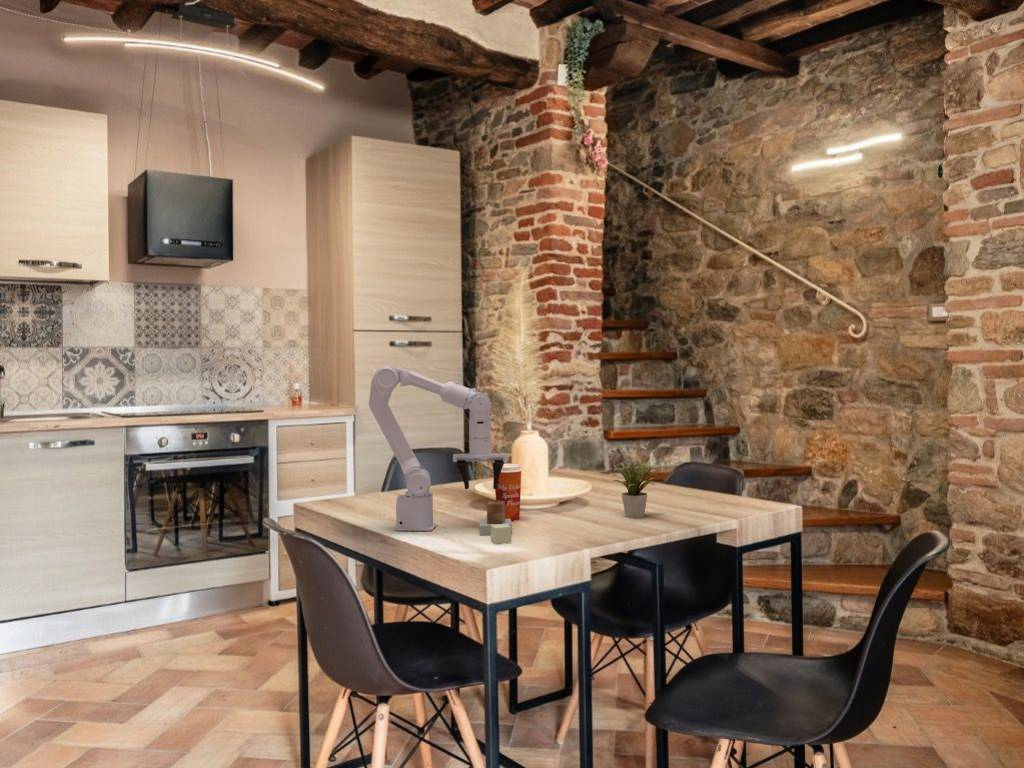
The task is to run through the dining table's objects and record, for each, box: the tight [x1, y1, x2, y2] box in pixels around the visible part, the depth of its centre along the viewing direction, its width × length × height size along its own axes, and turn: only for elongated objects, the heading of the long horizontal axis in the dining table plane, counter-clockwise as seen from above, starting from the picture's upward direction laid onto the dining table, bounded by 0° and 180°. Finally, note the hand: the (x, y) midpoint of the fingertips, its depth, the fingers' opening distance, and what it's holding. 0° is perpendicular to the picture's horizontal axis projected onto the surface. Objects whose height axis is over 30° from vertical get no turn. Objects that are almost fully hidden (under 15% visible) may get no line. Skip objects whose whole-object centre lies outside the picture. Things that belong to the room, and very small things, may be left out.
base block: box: [479, 519, 513, 537], centre depth 211 cm, size 8×8×3 cm
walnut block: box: [486, 500, 505, 524], centre depth 211 cm, size 4×4×5 cm
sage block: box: [490, 524, 512, 545], centre depth 200 cm, size 4×4×4 cm
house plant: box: [610, 457, 661, 519], centre depth 227 cm, size 14×14×16 cm
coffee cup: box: [494, 463, 524, 522], centre depth 227 cm, size 8×8×15 cm
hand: (481, 488), depth 219 cm, fingers open, 7 cm apart
